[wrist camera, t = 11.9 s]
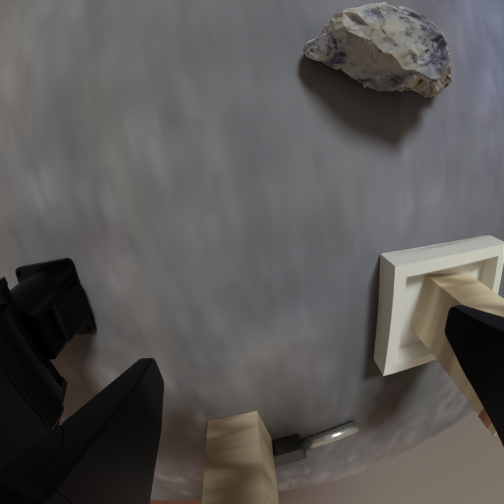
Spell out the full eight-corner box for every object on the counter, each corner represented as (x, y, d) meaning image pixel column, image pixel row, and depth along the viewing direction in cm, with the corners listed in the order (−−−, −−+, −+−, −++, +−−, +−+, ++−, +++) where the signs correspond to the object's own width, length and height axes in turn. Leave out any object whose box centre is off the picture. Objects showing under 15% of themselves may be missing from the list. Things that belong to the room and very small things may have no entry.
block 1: (226, 446, 28) (225, 551, 16) (207, 420, 26) (200, 539, 14) (271, 437, 28) (284, 546, 15) (257, 410, 26) (267, 534, 14)
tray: (373, 358, 25) (383, 376, 22) (380, 253, 21) (395, 266, 19) (472, 327, 25) (485, 340, 22) (488, 234, 21) (506, 243, 19)
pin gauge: (266, 453, 29) (267, 468, 27) (258, 444, 28) (260, 460, 26) (355, 423, 28) (361, 438, 26) (352, 413, 27) (358, 428, 25)
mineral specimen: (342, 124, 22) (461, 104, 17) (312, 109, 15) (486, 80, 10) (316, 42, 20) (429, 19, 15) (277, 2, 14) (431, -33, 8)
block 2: (410, 328, 23) (492, 437, 11) (424, 273, 21) (534, 371, 9) (452, 323, 23) (534, 412, 11) (467, 272, 22) (570, 351, 9)
